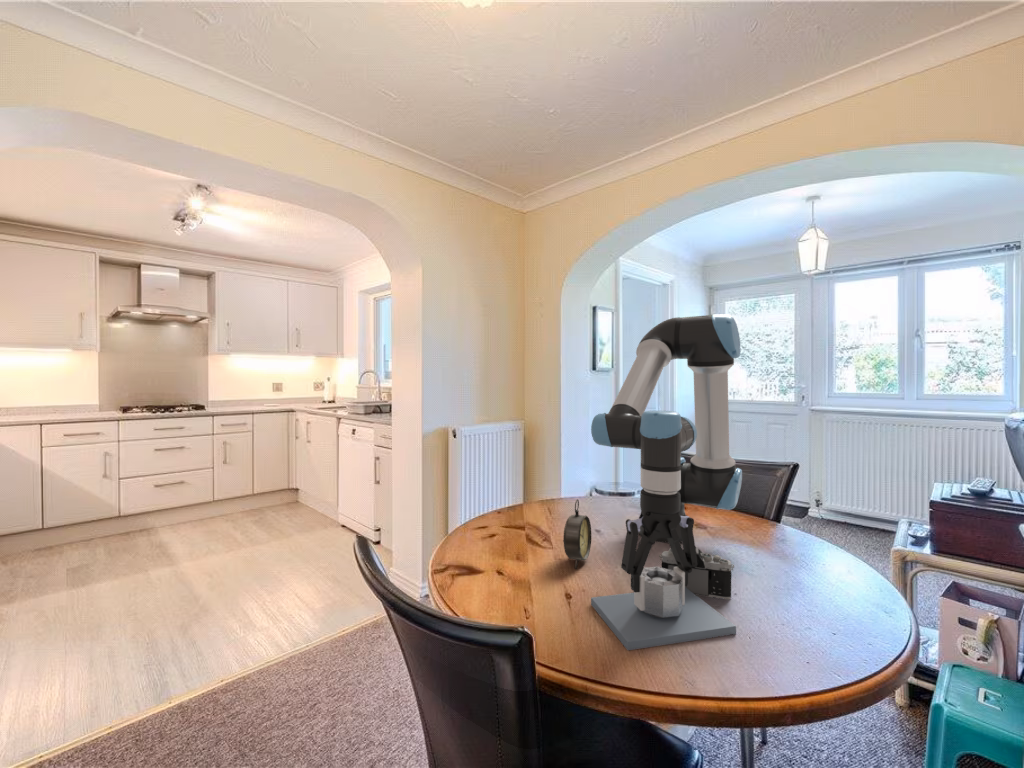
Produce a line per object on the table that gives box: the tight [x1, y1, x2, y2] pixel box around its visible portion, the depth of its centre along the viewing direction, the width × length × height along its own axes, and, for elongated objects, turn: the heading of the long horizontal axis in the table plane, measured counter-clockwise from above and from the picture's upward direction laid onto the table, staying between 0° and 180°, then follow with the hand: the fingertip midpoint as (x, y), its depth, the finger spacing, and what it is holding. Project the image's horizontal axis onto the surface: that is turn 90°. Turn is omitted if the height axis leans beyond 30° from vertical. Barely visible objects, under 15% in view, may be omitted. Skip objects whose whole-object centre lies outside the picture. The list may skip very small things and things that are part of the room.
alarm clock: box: [562, 498, 592, 570], centre depth 115 cm, size 11×5×16 cm, turn 155°
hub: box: [641, 566, 683, 618], centre depth 88 cm, size 8×8×6 cm
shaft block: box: [590, 577, 737, 651], centre depth 88 cm, size 22×16×8 cm
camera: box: [658, 545, 735, 600], centre depth 101 cm, size 16×9×10 cm, turn 69°
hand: (659, 604), depth 88 cm, fingers closed on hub, 8 cm apart
